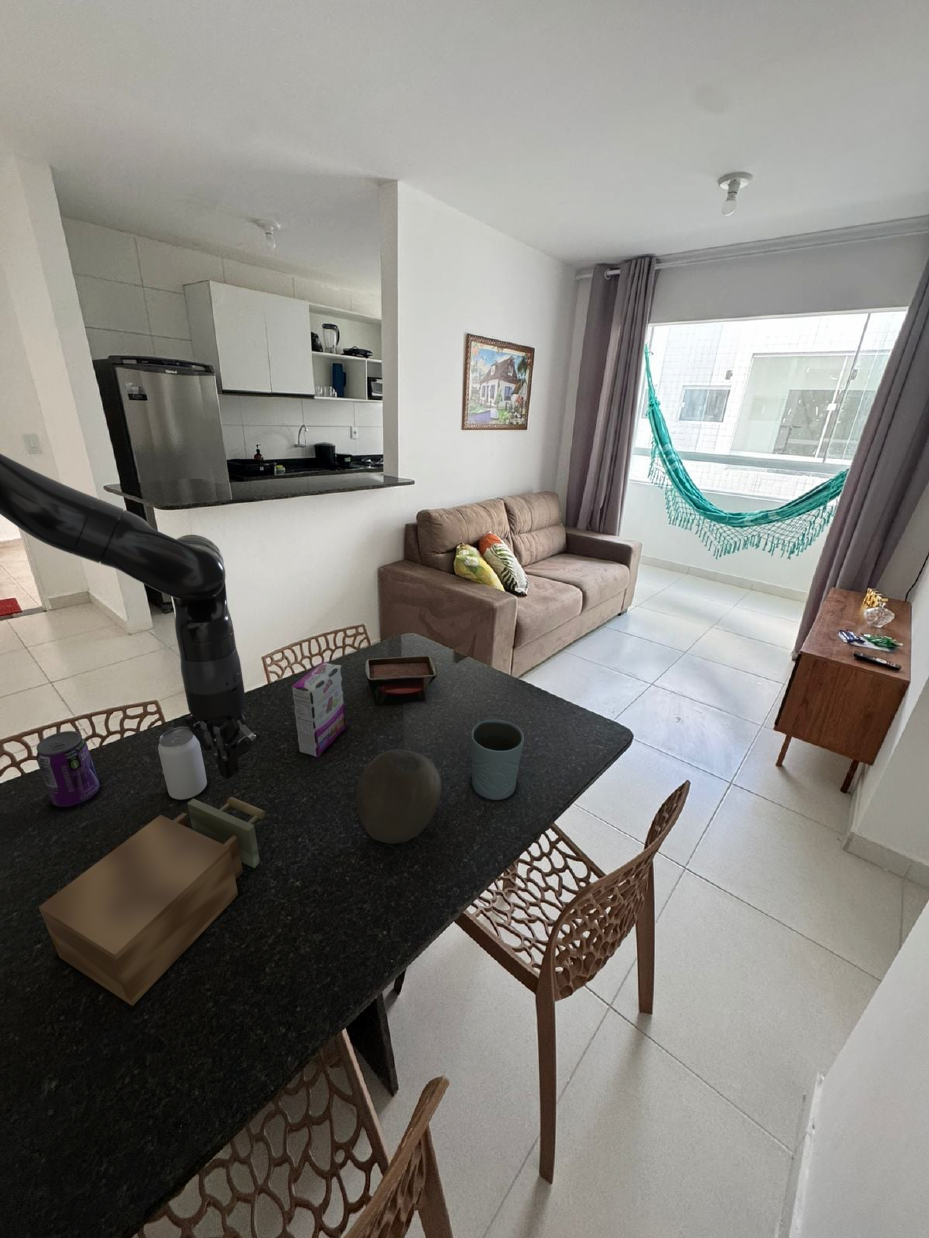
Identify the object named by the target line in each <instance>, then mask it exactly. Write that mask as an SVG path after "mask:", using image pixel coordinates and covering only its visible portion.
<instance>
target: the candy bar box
mask: <svg viewBox="0 0 929 1238" xmlns="http://www.w3.org/2000/svg"><path fill="white" fill-rule="evenodd" d="M342 673H343V672H342V665H341V664H335V663H332V662H327V661H321V662H320V663H318V665H316V666H315V667H314V668H312V669H311V670H310V671H309V672H307V673H306V674H305V675H304V676H303V677H302V678H300V679H299V680H297V682H295V683H294V684H293V685H292V686H291V693H292V699H293V700H292V702H293V708H294V709H293V710H294V716H295V725H296V726H295V727H296V733H297V742H298V752H299V753H301V754H306V755H309V756H312V757H315V758H319V757H320V756H321V755H322V754H323V753H324V752H325V751H326V750H327V749H328V748H329V746H330V745H331V744H333V742H334V741H335V740H336V739H337V738H338V736H340V735H341V734H342V732H344V731H345V730H346V728H347V727H346V713H345V701H344V700H345V699H344V685H343V674H342Z"/></svg>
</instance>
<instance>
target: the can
mask: <svg viewBox="0 0 929 1238" xmlns="http://www.w3.org/2000/svg"><path fill="white" fill-rule="evenodd" d="M157 751H158V755H159V759H160V764H161V768H162V772H163V776H164V780H165V785H166V788H167V792H168V793H167V794H168V795H169V797H171V798H172V799H175V800H181V801H182V800H189V799H193V798H194V797H196V796H198V795H200V794H201V793H202V792H203V791H204V790H205V789H206V787H207V786H208V780H207V774H206V773H207V772H206V768H205V763H204V759H203V753H202V749H201V744H200V742H199V741H198V740H197V738H196V737H195V735H194V734H193V733H192V731H191V730H190V728H189V727H188V726H178V727H174V728H171V729H169V730H167V731H165V732H163V733H162V734H161V735H160V737H159V739H158V747H157Z"/></svg>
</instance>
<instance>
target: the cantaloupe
mask: <svg viewBox="0 0 929 1238" xmlns="http://www.w3.org/2000/svg"><path fill="white" fill-rule="evenodd" d="M442 787H443V786H442V779H441V776H440V773H439V771H438V769H437V768H436V766H435V765H434V763H433V762H432V761H431V760H430V759H429V758H427V757H426V756H425V755H422V754H421V753H418V752H416V751H413V750H408V749H407V750H405V749H401V748H400V749H399V748H398V749H391V750H387V751H384V752H382V753H380V754H378V755H377V756H375V758H373V759H372V760H371V761H370V762H369V764H368V765H367V767H366V768H365V770H364V771H363V773H362V775H361V777H360V779H359V781H358V784H357V786H356V795H355V804H356V811H357V814H358V817H359V820H360V821H361V824H362V826H363V829H364V830H365V831H366V832H367V834H368V835H369V836H370V838H372V839H373V840H375V841H377V842H381V843H384V844H390V845H394V844H395V845H396V844H401V843H404V842H405V843H406V842H408V841H410V840H412V839H414V838H415V837H417V836H418V835H419V834H420V833H422V831H423V830H424V829H425V828H426V827H427V826H428V824H429V823H430V822H431V820H432V818H433V817H434V815H435V813H436V811H437V809H438V806H439V804H440V802H441V797H442V790H443V789H442Z"/></svg>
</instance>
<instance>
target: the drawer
mask: <svg viewBox="0 0 929 1238" xmlns="http://www.w3.org/2000/svg"><path fill="white" fill-rule="evenodd" d="M186 804H187V809H188V813H189V818H190V822H191V827H192V828H191V827H190V823H189V818H188V814H187V813H185V812H182V813H181V814H179V815H178V816H176V817H175V818H174V819H173V820H172V821H175V822H177V823H179V824H181V825H183V826H185V827H187V828H189V829H192V830H194V831H196V832H198V833H200V834H202V835H204V836H206V837H209V838H211V839H213V840H215V841H217V842H219V843H221V844H223V845H226V846H228V847H230V853H231V859H232V864H233V870H234V875H235V881H236V880H237V879H238V878H239V877H240V876H241V875H242V874H243V872H244V869H243V864H245V865H247V866H249V867H250V868H253V869H256V867H257V866H259V864H260V863H261V861H260V855H259V848H258V843H257V835H256V828H255V825H254V823H256V822H257V821H258V820H262V819H264V817H265V816H266V810H263V809H261V808H258V807H256V806H254V805H251V804H249V803H247V802H245V801H242V800H240V799H238V798H236V797H233V796H230V797H228V798H227V800H226V802H225V804H224V805H223V806H221V808H216V807H214V806H211V805H209V804H208V803H205V802H203V801H199V800H197V799H196V798H191V800H189V801H188V802H187V803H186ZM230 807H231V808H233V809H235V810H237V811H240V812H242V813H245V815H249V816H251V818H250V819H249V820H248V821H245V820H243V819H240V818H238V817H236V816H234V815H231V814H229V813H227V812H226V811H227V810H228V809H229V808H230ZM242 863H243V864H242Z"/></svg>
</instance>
